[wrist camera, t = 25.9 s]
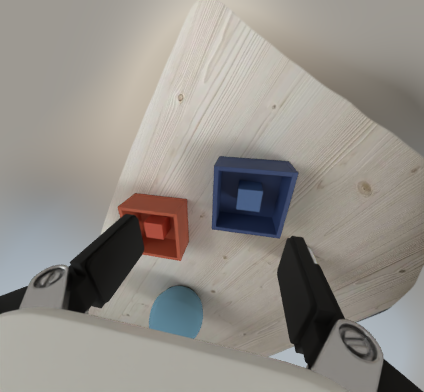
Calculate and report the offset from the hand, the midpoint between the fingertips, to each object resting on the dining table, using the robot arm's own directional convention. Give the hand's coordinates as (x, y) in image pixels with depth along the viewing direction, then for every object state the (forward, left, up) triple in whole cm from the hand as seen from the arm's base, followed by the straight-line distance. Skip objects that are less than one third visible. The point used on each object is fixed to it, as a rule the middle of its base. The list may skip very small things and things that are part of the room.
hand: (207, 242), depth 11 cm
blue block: (+4, -8, -26) cm, 27 cm away
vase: (-13, -51, -26) cm, 59 cm away
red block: (-17, -19, -26) cm, 36 cm away
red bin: (-17, -19, -26) cm, 37 cm away
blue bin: (+4, -8, -26) cm, 28 cm away
